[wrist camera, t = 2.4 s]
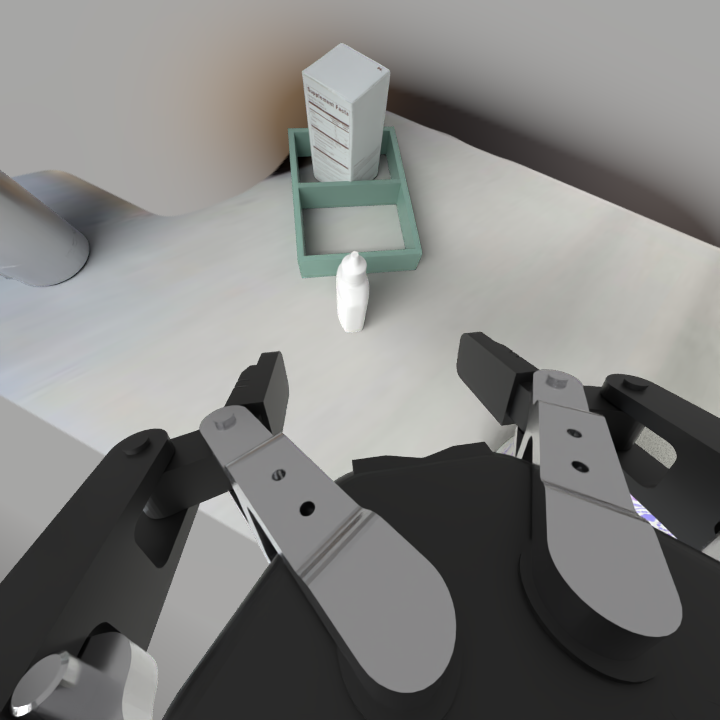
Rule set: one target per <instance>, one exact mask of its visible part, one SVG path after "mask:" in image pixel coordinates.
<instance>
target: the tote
mask: <svg viewBox="0 0 720 720" xmlns="http://www.w3.org/2000/svg"><path fill="white" fill-rule="evenodd" d="M288 136H289V150H290V163H291V177H292V190H293V204H294V217H295V230H296V244H297V257H298V264H299V268H300V272H301V276H302V278H310V277H324V276H336V275H337V270H338V267H339V265H340V264H341V263H342V260H343V258H344V257H345V256H347V255H349V254H351V253H341V254H326V255H311V256H306V250H305V238H304V226H303V214H302V209H308V208H329V207H350V206H370V205H391V204H396V205H397V210H398V215H399V220H400V225H401V230H402V234H403V239H404V244H405V249H403V250H387V251H372V252H358V254H359V255H360V256H362V257H363V258H364V259H365V260H366V264H367V268H366V273H378V272H392V271H406V270H415V269H416V267H417V265H418V263H419V260H420V258H421V256H422V249H421V245H420V240H419V236H418V231H417V227H416V222H415V218H414V214H413V209H412V205H411V200H410V196H409V191H408V187H407V183H406V178H405V174H404V169H403V165H402V160H401V156H400V151H399V147H398V143H397V138H396V134H395V129H394V127H383V135H382V143H381V150H380V154H386V157H387V162H388V166H389V171H390V176H391V179H388V180H362V181H352V182H349V181H336V182H310V183H300V179H299V167H298V157H304V156H312V154H311V146H310V137H309V128H297V129H296V128H295V129H288Z"/></svg>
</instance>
